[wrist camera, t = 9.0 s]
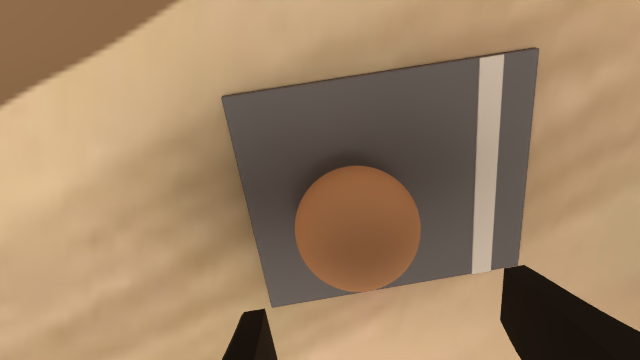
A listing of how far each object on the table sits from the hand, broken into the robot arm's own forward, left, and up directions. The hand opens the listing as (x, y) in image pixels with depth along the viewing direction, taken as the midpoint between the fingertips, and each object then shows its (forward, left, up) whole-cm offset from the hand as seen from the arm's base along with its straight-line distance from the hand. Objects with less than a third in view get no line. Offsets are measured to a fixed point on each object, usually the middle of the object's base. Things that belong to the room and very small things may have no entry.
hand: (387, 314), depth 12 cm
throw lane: (-2, 0, -8) cm, 8 cm away
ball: (0, 0, -7) cm, 7 cm away
